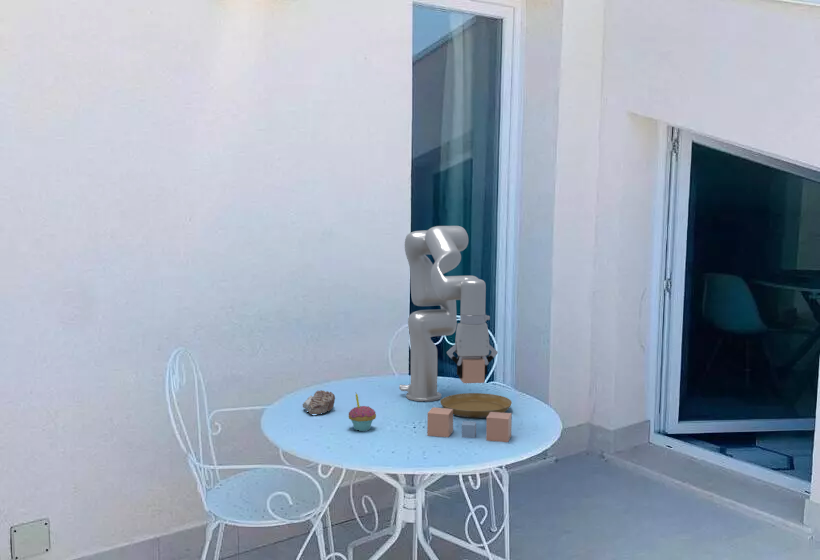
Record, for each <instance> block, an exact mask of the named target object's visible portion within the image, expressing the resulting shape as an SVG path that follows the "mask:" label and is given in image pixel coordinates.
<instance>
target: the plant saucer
mask: <svg viewBox="0 0 820 560" xmlns="http://www.w3.org/2000/svg"><path fill="white" fill-rule="evenodd" d="M439 403H440V405H441V408H447V409H453V414H454V415H453V416H458V417H463V418H470V419H471V418H473V419H484V418H486V419H487V416H488V414H489V413H490V412H501V413H506V412H507V411H508V410H509V409H510V407H511V406H512V404H513V403H512V400H511V399H510V398H508V397H506V396H502V395H500V394H499V395H498V394H492V393H482V392H481V393H478V392H475V393H474V392H469V393H466V392H465V393H456V394H451V395H448V396H445V397H443V398H440V401H439Z"/></svg>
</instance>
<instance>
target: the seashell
mask: <svg viewBox="0 0 820 560" xmlns="http://www.w3.org/2000/svg"><path fill="white" fill-rule="evenodd" d="M335 399H336V396H335V394H334V393H333V392H332V391H328V390H326V391H325V390H317V391H315V392H314V394H313V395H310V396H308V398H307V399H306V400H305V401H304V402H303V404H302V408H303V409H305V410H306V409H307V410H306V411H308V412H309V413H308V414H310V415H311V414H321V413H325V412H326V413H328V412H330V411H331V410H332V409H333V408H334V405H335ZM327 411H328V412H327ZM326 413H325V414H326Z"/></svg>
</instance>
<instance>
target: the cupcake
mask: <svg viewBox="0 0 820 560" xmlns="http://www.w3.org/2000/svg"><path fill="white" fill-rule="evenodd" d="M355 401H356V407H353V408H352V409H350V410H349V412H348V419H349V420H350V421H351V422H352V425H353V428H354V430H355V429H356V430H355V431H357V430H359V431H358V432H367V431H369V430H370V429H371V425H372V423H373V421H374V420H376V418H377V412H376V411H375V410H374V409H373V408H372V407H370V406H368V405H367V406H366V405H360V402H359V401H360V400H359V395H358V394H357V393H355ZM366 430H367V431H366Z"/></svg>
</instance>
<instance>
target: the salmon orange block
mask: <svg viewBox="0 0 820 560" xmlns="http://www.w3.org/2000/svg"><path fill="white" fill-rule="evenodd" d="M512 420H513V419H512V412H504V413H501V412H490V413H489V414H488V416H487V417H486V424H485V425H486V434H485V438H486V440H485V441H487V442H500V443H509V441H510V440H511V437H512Z"/></svg>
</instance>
